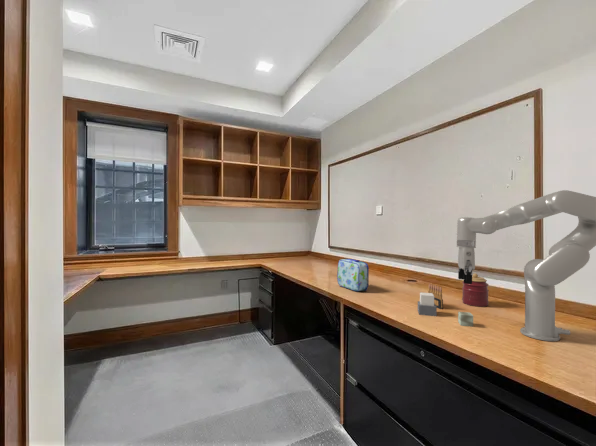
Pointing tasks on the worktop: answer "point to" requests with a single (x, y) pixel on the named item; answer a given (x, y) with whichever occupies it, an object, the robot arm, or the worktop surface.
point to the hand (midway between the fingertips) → (464, 281)
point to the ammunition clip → (436, 295)
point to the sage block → (465, 319)
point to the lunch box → (353, 274)
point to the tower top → (427, 299)
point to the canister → (476, 292)
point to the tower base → (427, 310)
